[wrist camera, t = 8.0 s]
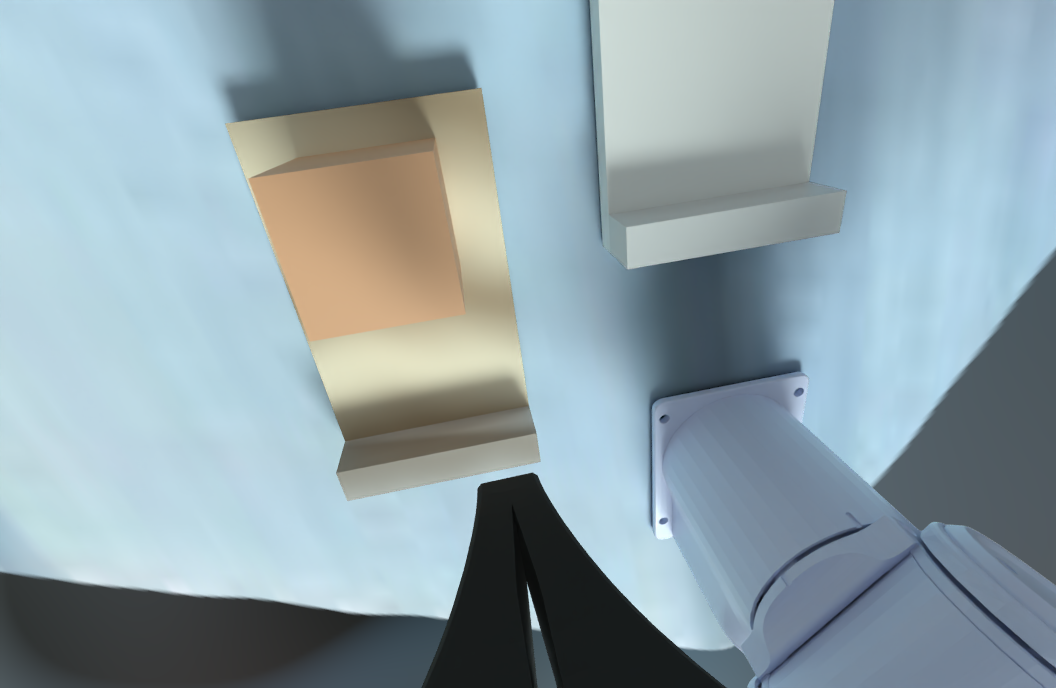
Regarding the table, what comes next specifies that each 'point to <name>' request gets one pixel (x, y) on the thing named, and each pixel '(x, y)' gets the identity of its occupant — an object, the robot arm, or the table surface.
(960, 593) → the robot arm
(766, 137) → the grey strip
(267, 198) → the block
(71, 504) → the table surface
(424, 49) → the table surface
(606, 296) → the table surface
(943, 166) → the table surface
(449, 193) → the beige lipped tray
